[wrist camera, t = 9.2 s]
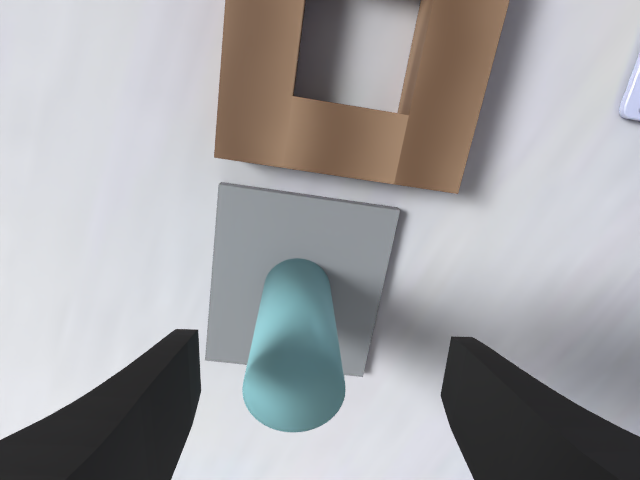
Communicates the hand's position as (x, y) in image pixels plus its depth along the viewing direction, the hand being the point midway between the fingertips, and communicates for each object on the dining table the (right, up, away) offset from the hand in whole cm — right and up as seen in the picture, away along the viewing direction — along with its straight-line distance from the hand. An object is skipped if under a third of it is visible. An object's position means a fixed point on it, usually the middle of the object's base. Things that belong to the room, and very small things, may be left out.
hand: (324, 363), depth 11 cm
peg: (-1, +1, +10) cm, 10 cm away
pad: (-1, +1, +10) cm, 11 cm away
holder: (+1, +12, +7) cm, 14 cm away
